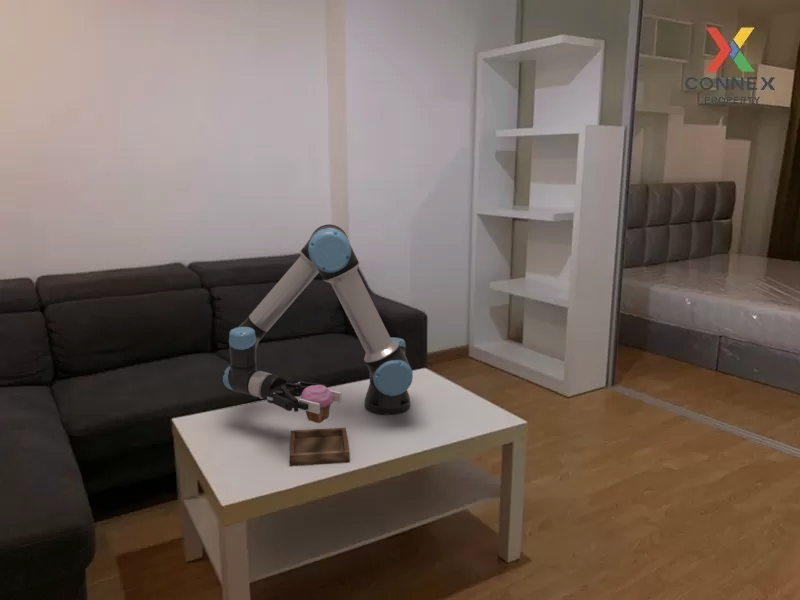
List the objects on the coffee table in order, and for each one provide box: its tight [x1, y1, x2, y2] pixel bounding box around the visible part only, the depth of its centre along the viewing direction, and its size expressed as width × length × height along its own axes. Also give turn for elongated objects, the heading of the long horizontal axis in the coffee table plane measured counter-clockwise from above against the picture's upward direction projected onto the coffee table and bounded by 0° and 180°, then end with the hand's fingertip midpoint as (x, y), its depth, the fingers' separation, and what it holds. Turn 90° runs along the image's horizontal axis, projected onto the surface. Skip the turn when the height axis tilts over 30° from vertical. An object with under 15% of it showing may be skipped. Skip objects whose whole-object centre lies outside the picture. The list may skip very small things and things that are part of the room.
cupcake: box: [300, 385, 334, 424], centre depth 177 cm, size 9×9×10 cm
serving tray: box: [288, 427, 351, 467], centre depth 180 cm, size 16×16×3 cm
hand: (330, 403), depth 175 cm, fingers closed on cupcake, 9 cm apart
